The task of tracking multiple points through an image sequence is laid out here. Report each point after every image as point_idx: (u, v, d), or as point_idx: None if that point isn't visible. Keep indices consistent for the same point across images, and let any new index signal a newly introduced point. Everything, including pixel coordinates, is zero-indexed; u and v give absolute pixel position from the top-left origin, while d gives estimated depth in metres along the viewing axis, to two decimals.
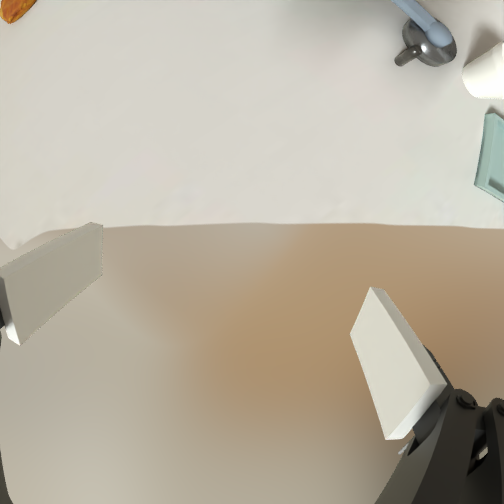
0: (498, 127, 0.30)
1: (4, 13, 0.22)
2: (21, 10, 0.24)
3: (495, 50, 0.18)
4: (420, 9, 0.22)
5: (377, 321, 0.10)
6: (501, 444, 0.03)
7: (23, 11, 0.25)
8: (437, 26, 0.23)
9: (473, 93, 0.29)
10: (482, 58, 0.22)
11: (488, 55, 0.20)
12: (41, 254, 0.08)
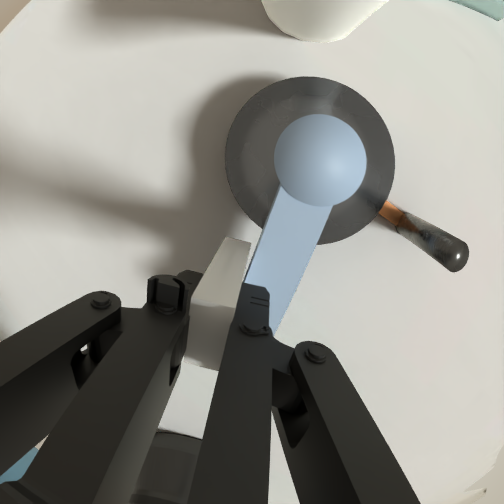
0: None
1: None
2: None
3: None
4: (275, 254, 0.13)
5: None
6: (323, 404, 0.05)
7: None
8: (307, 182, 0.11)
9: None
10: None
11: None
12: (223, 273, 0.10)
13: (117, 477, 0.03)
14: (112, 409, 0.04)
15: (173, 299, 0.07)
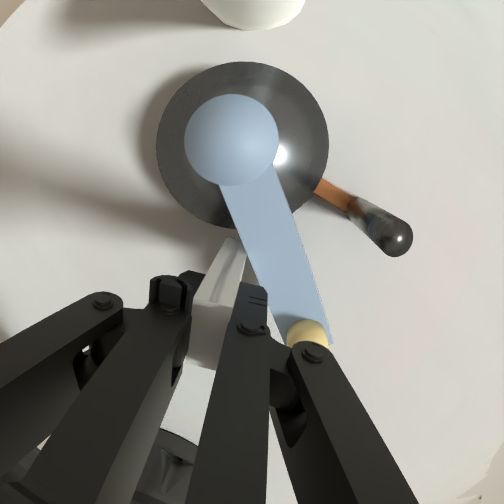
0: None
1: None
2: None
3: None
4: (262, 241, 0.12)
5: None
6: (320, 404, 0.05)
7: None
8: (234, 164, 0.11)
9: None
10: None
11: None
12: (225, 273, 0.10)
13: (119, 478, 0.03)
14: (115, 410, 0.04)
15: (175, 300, 0.07)
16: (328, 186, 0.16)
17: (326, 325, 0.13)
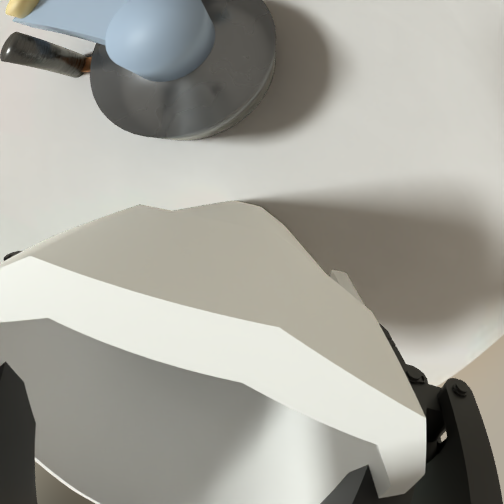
0: None
1: None
2: None
3: (72, 230, 0.03)
4: (84, 2, 0.06)
5: None
6: (461, 428, 0.04)
7: None
8: (133, 13, 0.07)
9: None
10: None
11: None
12: None
13: (8, 428, 0.03)
14: None
15: None
16: None
17: (21, 20, 0.06)
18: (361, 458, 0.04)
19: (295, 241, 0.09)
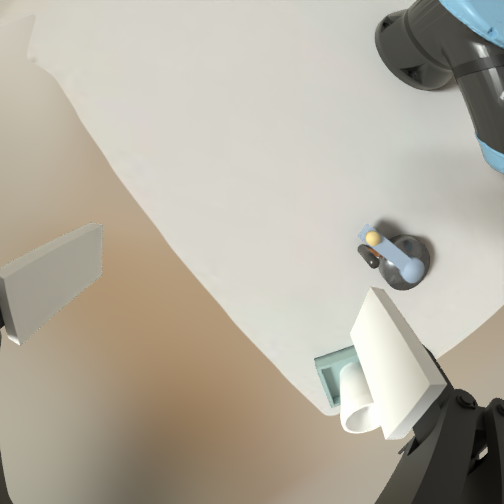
0: None
1: None
2: None
3: (367, 396, 0.40)
4: (397, 254, 0.38)
5: (377, 321, 0.10)
6: (501, 444, 0.03)
7: None
8: (411, 267, 0.39)
9: None
10: (362, 382, 0.44)
11: (364, 389, 0.42)
12: (41, 254, 0.08)
13: None
14: None
15: None
16: (374, 254, 0.44)
17: (368, 244, 0.38)
18: None
19: None
